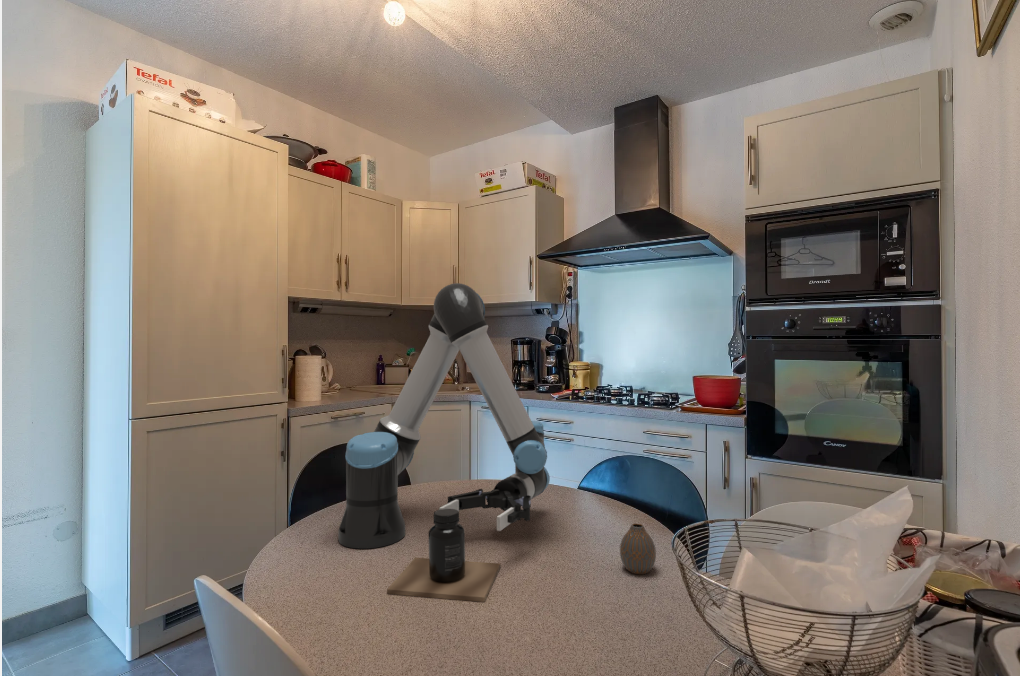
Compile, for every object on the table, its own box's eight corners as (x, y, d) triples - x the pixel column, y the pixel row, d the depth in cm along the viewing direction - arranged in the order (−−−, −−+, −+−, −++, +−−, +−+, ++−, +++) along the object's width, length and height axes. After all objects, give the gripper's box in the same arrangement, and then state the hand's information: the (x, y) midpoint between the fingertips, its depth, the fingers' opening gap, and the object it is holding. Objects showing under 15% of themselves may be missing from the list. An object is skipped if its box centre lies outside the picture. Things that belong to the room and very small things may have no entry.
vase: (657, 579, 96) (657, 532, 96) (620, 576, 97) (619, 530, 98) (654, 563, 103) (654, 520, 103) (619, 561, 104) (619, 518, 104)
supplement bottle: (468, 568, 99) (467, 506, 100) (461, 584, 93) (461, 518, 93) (433, 567, 100) (433, 506, 100) (424, 583, 93) (424, 517, 94)
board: (386, 593, 91) (386, 589, 91) (415, 561, 105) (415, 557, 105) (484, 602, 88) (484, 597, 88) (500, 567, 102) (500, 563, 102)
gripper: (562, 514, 117) (524, 547, 98) (469, 501, 128) (418, 528, 109) (562, 482, 117) (524, 508, 98) (469, 471, 128) (418, 493, 109)
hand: (468, 519), depth 104 cm, fingers open, 13 cm apart
